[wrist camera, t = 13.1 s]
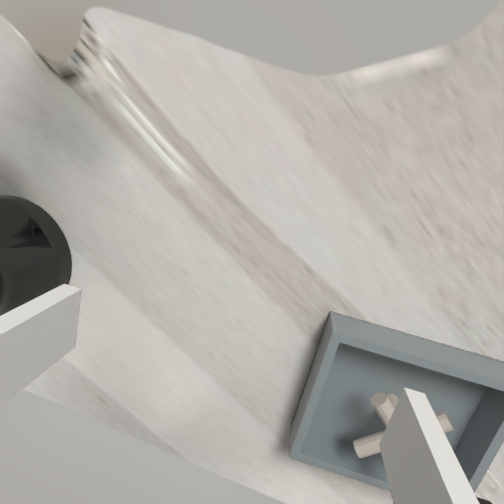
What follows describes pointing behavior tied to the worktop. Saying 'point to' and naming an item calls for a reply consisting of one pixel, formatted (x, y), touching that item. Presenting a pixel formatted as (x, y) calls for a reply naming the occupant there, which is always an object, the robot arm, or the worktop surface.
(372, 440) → the pipe connector
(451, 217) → the worktop surface
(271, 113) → the worktop surface
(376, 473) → the bin
